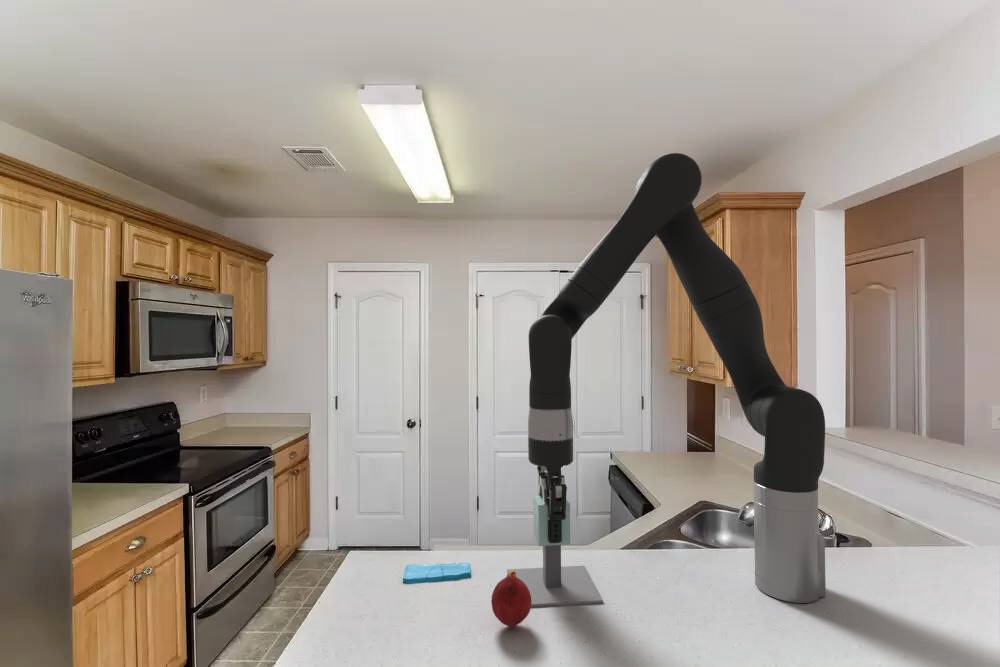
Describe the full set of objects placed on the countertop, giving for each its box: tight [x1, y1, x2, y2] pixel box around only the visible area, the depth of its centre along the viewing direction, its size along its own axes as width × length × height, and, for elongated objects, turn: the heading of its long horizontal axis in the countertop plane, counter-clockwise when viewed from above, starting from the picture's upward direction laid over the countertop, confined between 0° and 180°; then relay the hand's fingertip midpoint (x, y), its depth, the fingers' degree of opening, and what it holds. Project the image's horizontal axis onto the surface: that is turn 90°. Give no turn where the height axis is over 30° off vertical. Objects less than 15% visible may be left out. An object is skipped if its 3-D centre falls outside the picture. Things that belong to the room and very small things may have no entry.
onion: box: [490, 570, 532, 628], centre depth 73 cm, size 6×6×8 cm
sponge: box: [402, 562, 472, 585], centre depth 89 cm, size 2×12×6 cm
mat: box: [506, 565, 604, 608], centre depth 85 cm, size 14×12×1 cm
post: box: [542, 545, 562, 588], centre depth 85 cm, size 3×3×7 cm
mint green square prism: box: [533, 494, 571, 547], centre depth 85 cm, size 5×5×7 cm
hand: (551, 534), depth 85 cm, fingers closed on mint green square prism, 5 cm apart
